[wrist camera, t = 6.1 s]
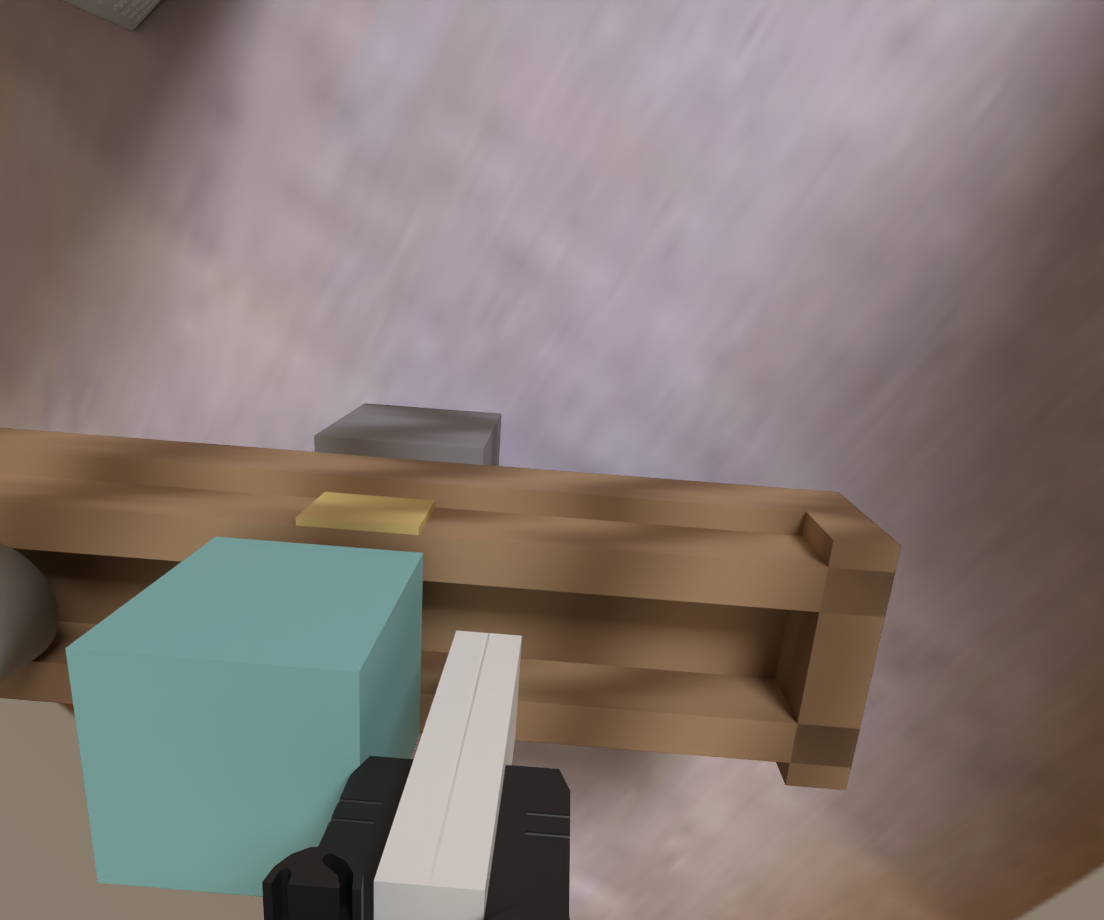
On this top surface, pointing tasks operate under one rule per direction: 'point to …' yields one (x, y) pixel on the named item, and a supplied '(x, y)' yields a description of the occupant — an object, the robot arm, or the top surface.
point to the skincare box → (117, 10)
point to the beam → (489, 574)
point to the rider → (242, 706)
